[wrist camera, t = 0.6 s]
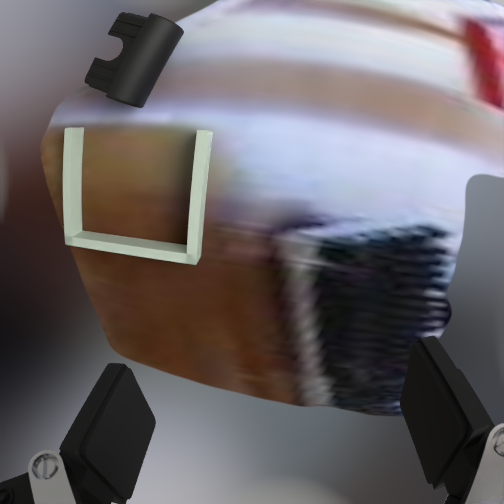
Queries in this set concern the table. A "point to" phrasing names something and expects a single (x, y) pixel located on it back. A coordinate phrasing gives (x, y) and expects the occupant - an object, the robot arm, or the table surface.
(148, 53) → the end cap
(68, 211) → the holder
